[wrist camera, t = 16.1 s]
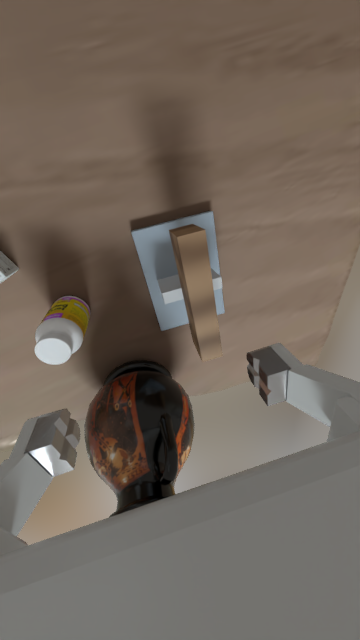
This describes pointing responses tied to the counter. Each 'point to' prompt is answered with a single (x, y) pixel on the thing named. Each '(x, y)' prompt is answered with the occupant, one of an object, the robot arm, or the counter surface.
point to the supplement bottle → (62, 330)
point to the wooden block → (197, 288)
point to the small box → (6, 267)
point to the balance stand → (173, 267)
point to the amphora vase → (139, 433)
